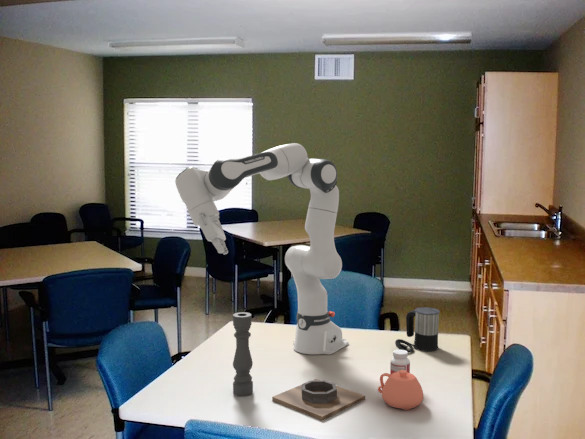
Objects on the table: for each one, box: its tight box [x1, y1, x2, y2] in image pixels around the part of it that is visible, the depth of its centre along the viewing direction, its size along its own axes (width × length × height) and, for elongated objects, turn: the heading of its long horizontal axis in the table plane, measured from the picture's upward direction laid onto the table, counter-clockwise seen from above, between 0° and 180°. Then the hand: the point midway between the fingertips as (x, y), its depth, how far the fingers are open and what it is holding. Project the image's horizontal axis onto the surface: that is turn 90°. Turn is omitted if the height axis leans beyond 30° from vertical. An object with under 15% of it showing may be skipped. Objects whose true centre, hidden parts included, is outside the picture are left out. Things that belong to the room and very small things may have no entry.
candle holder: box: [232, 311, 254, 398], centre depth 193 cm, size 6×6×25 cm
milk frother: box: [394, 306, 441, 353], centre depth 234 cm, size 14×16×15 cm
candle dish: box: [271, 378, 366, 421], centre depth 188 cm, size 20×20×4 cm
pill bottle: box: [389, 348, 411, 375], centre depth 200 cm, size 6×6×11 cm
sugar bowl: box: [377, 370, 424, 411], centre depth 185 cm, size 12×14×10 cm
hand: (223, 253), depth 199 cm, fingers open, 8 cm apart
